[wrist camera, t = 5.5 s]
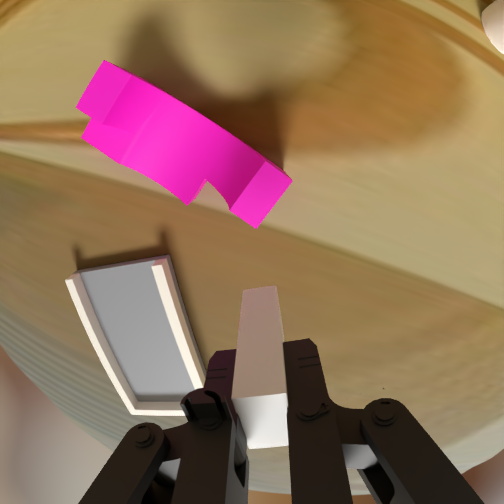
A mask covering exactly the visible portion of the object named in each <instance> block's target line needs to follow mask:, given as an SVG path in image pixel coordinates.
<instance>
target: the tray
mask: <svg viewBox="0 0 504 504" xmlns="http://www.w3.org/2000/svg"><path fill="white" fill-rule="evenodd" d="M65 281H66V284H67V287H68V289H69V292H70V294H71V297H72V299H73V302H74V304H75V307H76V309H77V311H78V314H79V316H80V318H81V321H82V323H83V325H84V327H85V329H86V332H87V334H88V336H89V338H90V340H91V342H92V344H93V346H94V348H95V350H96V352H97V354H98V356H99V358H100V360H101V362H102V364H103V366H104V368H105V370H106V372H107V374H108V375H109V377H110V379H111V381H112V383H113V384H114V386H115V388H116V390H117V391H118V393H119V395H120V397H121V398H122V400H123V402H124V403H125V405H126V407H127V408H128V410H129V411H130V413H131V414H133V415H159V416H185V414H184V412H183V410H182V408H181V406H180V403H181V401H182V399H183V397H184V396H186V395H187V394H188V393H189V392H191V391H193V390H195V389H198V388H204V383H205V380H206V370H205V367H204V364H203V361H202V358H201V355H200V353H199V350H198V347H197V344H196V341H195V338H194V335H193V332H192V328H191V325H190V322H189V319H188V316H187V313H186V310H185V306H184V303H183V300H182V296H181V293H180V290H179V286H178V283H177V279H176V276H175V272H174V269H173V265H172V262H171V258H170V254H169V255H163V256H157V257H151V258H145V259H140V260H134V261H128V262H122V263H116V264H111V265H105V266H99V267H93V268H88V269H82V270H77V271H76V272H74V273H73V274H72V275H71V276H70V277H68V278H67V279H66V280H65Z"/></svg>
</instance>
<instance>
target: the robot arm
mask: <svg viewBox="0 0 504 504" xmlns="http://www.w3.org/2000/svg"><path fill="white" fill-rule="evenodd" d="M180 406H181V408H182V410H183V412H184V414H185V416H186V418H187V420H188V421H189V422H187V423H185V424H183V425H180V426H177V427H173V428H169V429H165V430H162V429H161V427H160V426H158V425H156V424H154V423H147V422H146V423H141V424H138V425H136V426H134V427H132V428H131V429H130V430H129V431H128V432H127V433H126V435H125V436H124V438H123V439H122V441H121V442H120V444H119V445H118V447H117V448H116V449H115V451H114V452H113V454H112V455H111V457H110V458H109V460H108V461H107V463H106V464H105V465H104V467H103V468H102V470H101V471H100V473H99V474H98V476H97V477H96V479H95V480H94V482H93V483H92V485H91V486H90V488H89V489H88V490H87V492H86V493H85V495H84V496H83V498H82V499H81V500H80V502H79V503H78V504H248V479H249V460H248V456H247V454H246V449H247V444H248V447H249V449H256V448H268V447H279V446H288V445H289V460H290V477H291V495H292V504H353V501H352V496H351V490H350V485H349V480H348V475H347V470H346V468H351V469H357V471H358V472H359V474H360V476H361V477H362V479H363V481H364V483H365V484H366V486H367V488H368V490H369V491H370V493H371V495H372V497H373V498H374V500H375V502H376V503H377V504H484V503H483V501H482V500H481V499H480V498H479V496H478V495H477V494H476V492H475V491H474V490H473V489H472V487H471V486H470V485H469V484H468V482H467V481H466V480H465V479H464V477H463V476H462V475H461V474H460V472H459V471H458V470H457V469H456V468H455V466H454V465H453V464H452V463H451V461H450V460H449V459H448V458H447V456H446V455H445V454H444V453H443V452H442V450H441V449H440V448H439V447H438V445H437V444H436V443H435V442H434V441H433V439H432V438H431V437H430V436H429V435H428V433H427V432H426V431H425V430H424V429H423V427H422V426H421V425H420V424H419V422H418V421H417V420H416V419H415V418H414V416H413V415H412V414H411V413H410V412H409V410H408V409H407V408H406V407H405V406H404V405H403V404H402V403H400V402H399V401H397V400H394V399H391V398H381V399H378V400H374V401H372V402H371V403H369V404H368V405H366V407H365V408H364V409H350V408H344V407H341V406H339V405H337V404H335V403H334V402H333V401H332V400H331V399H330V398H329V395H328V392H327V388H326V383H325V379H324V375H323V370H322V366H321V362H320V358H319V354H318V350H317V346H316V345H315V344H314V343H313V342H312V341H311V340H310V339H309V338H308V339H302V340H295V341H289V342H284V333H283V326H282V320H281V313H280V307H279V300H278V294H277V288H276V285H274V286H267V287H261V288H254V289H247V290H243V296H242V305H241V314H240V323H239V332H238V341H237V349H233V350H223V351H216V352H215V354H214V355H213V356H212V357H211V359H210V360H209V364H208V369H207V373H206V380H205V383H204V388H198V389H195V390H193V391H191V392H189V393H188V394H187V395H186V396H184V397H183V399H182V401H181V403H180Z"/></svg>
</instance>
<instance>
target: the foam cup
mask: <svg viewBox="0 0 504 504" xmlns="http://www.w3.org/2000/svg"><path fill="white" fill-rule="evenodd" d="M481 22H482V25H483V27H484V30H485V33H486V35H487V36H488V38H489V39H490V41H491V43H492V44H493V45H494V46H495V47H496V48H497V49H498V50H499V51H500V52H501V53H503V54H504V0H496V1H494V2H493V3H492V4H490V5H489V6H488V7H487V8H485V9H484V10H483V12H482V13H481Z"/></svg>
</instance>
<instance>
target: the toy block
mask: <svg viewBox="0 0 504 504" xmlns="http://www.w3.org/2000/svg"><path fill="white" fill-rule="evenodd" d="M76 108H77V109H79V110H80V111H82V112H83V113H85V114H87V115H88V116H90V117H91V120H90V122H89V124H88V126H87V127H86V129H85V131H84V133H83V135H82V137H81V138H82V139H84V140H85V141H87V142H88V143H89V144H91V145H92V146H94V147H95V148H97V149H98V150H100V151H101V152H103V153H104V154H105V155H107V156H108V157H110V158H111V159H113V160H114V161H116V162H117V163H119V164H122V165H124V166H127V167H129V168H131V169H133V170H136V171H138V172H140V173H142V174H143V175H145V176H147V177H149V178H151V179H152V180H154V181H155V182H157V183H159V184H160V185H162V186H163V187H165V188H166V189H167V190H169V191H170V192H171V193H173V194H174V195H175V196H177V197H178V198H179V199H180V200H181V201H182V202H183V203H185V204H186V205H188V204H189V203H190V202H192V201H193V200H194V199H195V198H196V196H197V195H198V193H199V192H200V191H201V189H202V188H203V186H204V185H205V183H206V182H207V181H208V182H209V183H210V184H212V185H213V186H214V187H215V188H216V189H217V190H218V192H219V193H220V194H221V195H222V196H223V198H224V199H225V200H226V202H227V204H228V206H229V210H230V211H231V212H232V213H234V214H235V215H237V216H238V217H240V218H241V219H243V220H244V221H245V222H247V223H248V224H250V225H251V226H253V227H254V228H255V229H257V227H258V226H259V225H260V223H261V222H262V221H263V219H264V218H265V217H266V215H267V214H268V213H269V211H270V210H271V209H272V207H273V206H274V205H275V204H276V202H277V201H278V200H279V198H280V197H281V196H282V194H283V193H284V192H285V190H286V189H287V188H288V187H289V185H290V184H291V183H292V179H291V178H290V177H289V176H288V175H287V174H286V173H285V172H284V171H283V170H282V169H281V168H279V167H278V166H277V165H275V164H274V163H273V162H271V161H270V160H268V159H267V158H266V157H264V156H263V155H261V154H260V153H259V152H257V151H256V150H254V149H253V148H252V147H250V146H249V145H247V144H246V143H244V142H243V141H242V140H240V139H239V138H237V137H236V136H234V135H233V134H231V133H230V132H228V131H227V130H225V129H224V128H222V127H221V126H219V125H218V124H216V123H215V122H213V121H212V120H210V119H209V118H207V117H206V116H204V115H202V114H201V113H199V112H198V111H196V110H195V109H193V108H191V107H190V106H188V105H187V104H185V103H183V102H182V101H180V100H179V99H177V98H175V97H174V96H172V95H170V94H169V93H167V92H165V91H164V90H162V89H160V88H159V87H157V86H155V85H154V84H152V83H150V82H148V81H147V80H145V79H143V78H141V77H139V76H137V75H135V74H133V73H131V72H129V71H127V70H125V69H123V68H121V67H118V66H116V65H114V64H112V63H110V62H107V61H105V60H104V61H103V62H102V64H101V65H100V67H99V68H98V70H97V72H96V73H95V75H94V76H93V78H92V80H91V81H90V83H89V85H88V86H87V88H86V90H85V92H84V93H83V95H82V97H81V99H80V101H79V102H78V104H77V106H76Z"/></svg>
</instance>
